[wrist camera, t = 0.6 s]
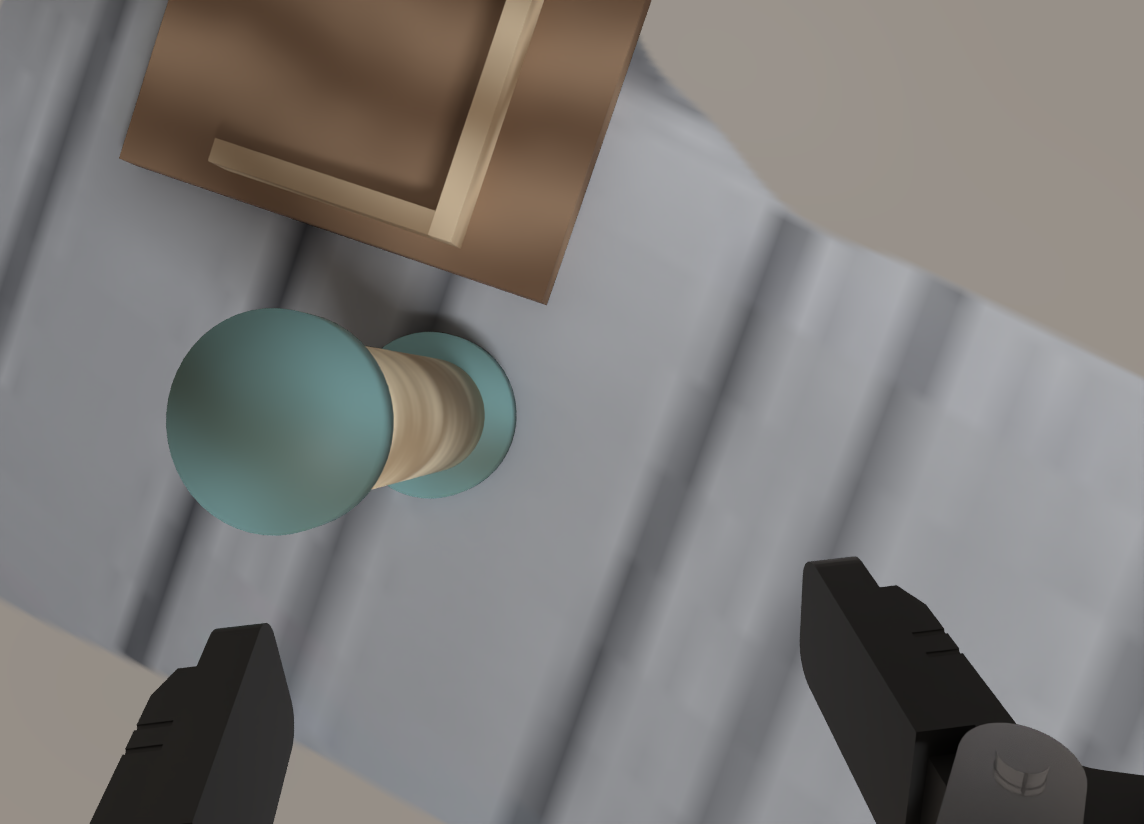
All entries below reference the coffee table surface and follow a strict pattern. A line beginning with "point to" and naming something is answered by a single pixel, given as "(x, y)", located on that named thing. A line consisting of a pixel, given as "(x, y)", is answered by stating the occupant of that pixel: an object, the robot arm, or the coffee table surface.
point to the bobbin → (330, 419)
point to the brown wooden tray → (395, 119)
